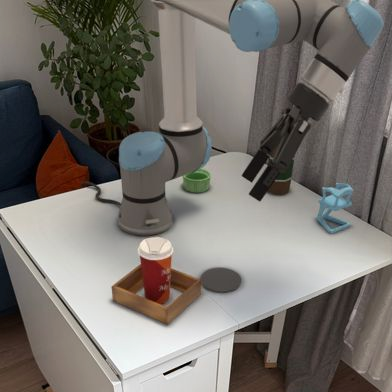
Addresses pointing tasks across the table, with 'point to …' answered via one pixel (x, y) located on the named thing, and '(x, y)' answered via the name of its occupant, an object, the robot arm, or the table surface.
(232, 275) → the coaster
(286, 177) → the beer bottle
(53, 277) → the table surface
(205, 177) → the ramekin
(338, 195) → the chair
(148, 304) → the wooden frame
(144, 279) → the paper cup
